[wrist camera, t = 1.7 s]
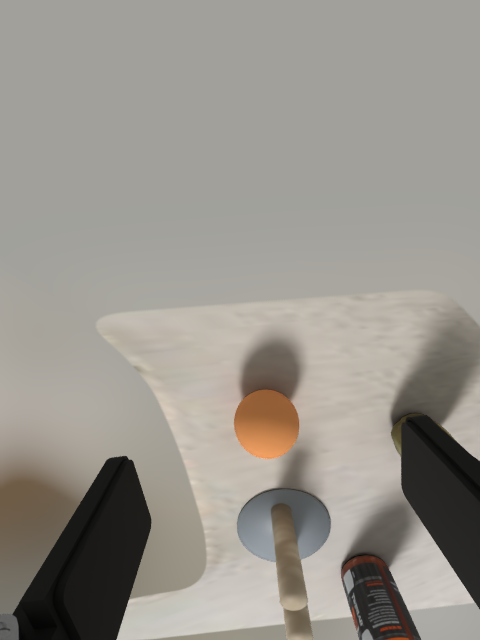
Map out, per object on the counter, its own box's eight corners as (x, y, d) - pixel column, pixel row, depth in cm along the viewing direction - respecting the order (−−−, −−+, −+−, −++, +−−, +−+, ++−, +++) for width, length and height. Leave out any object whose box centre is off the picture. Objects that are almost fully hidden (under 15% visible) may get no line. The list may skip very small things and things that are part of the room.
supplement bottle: (329, 568, 34) (370, 719, 23) (368, 544, 33) (430, 690, 22) (357, 593, 35) (409, 749, 24) (396, 571, 34) (469, 723, 23)
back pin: (294, 533, 33) (312, 629, 25) (296, 548, 33) (314, 646, 25) (274, 535, 33) (285, 631, 25) (277, 550, 33) (288, 649, 25)
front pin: (289, 500, 31) (306, 589, 23) (292, 516, 32) (309, 609, 24) (269, 503, 32) (278, 592, 23) (271, 518, 32) (281, 611, 24)
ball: (289, 374, 27) (301, 408, 22) (295, 425, 29) (309, 470, 23) (230, 382, 28) (227, 418, 22) (240, 433, 29) (239, 479, 23)
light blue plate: (325, 483, 31) (326, 484, 31) (333, 555, 34) (333, 557, 33) (229, 495, 31) (229, 496, 31) (245, 564, 34) (245, 566, 34)
